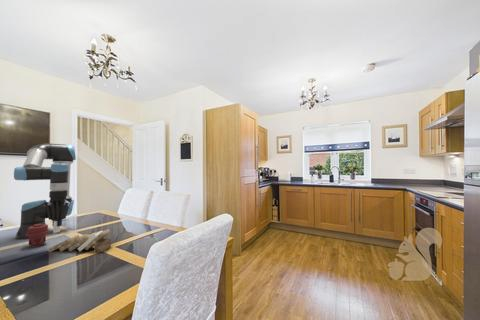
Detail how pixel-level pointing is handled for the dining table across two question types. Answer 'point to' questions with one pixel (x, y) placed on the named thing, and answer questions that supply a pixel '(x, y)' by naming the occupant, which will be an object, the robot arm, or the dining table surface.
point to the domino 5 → (97, 239)
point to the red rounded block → (37, 234)
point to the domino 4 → (88, 241)
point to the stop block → (102, 244)
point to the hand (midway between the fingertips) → (56, 232)
